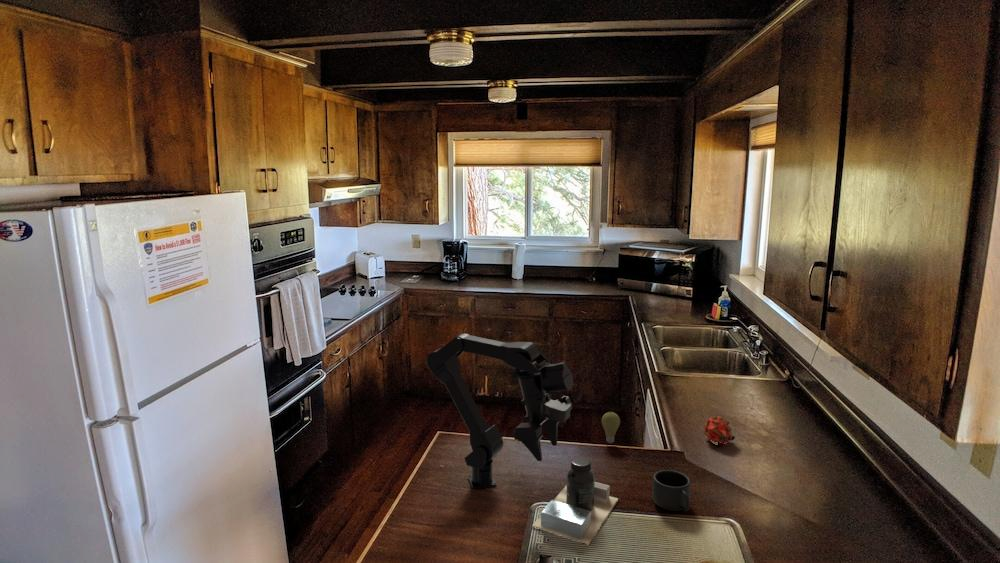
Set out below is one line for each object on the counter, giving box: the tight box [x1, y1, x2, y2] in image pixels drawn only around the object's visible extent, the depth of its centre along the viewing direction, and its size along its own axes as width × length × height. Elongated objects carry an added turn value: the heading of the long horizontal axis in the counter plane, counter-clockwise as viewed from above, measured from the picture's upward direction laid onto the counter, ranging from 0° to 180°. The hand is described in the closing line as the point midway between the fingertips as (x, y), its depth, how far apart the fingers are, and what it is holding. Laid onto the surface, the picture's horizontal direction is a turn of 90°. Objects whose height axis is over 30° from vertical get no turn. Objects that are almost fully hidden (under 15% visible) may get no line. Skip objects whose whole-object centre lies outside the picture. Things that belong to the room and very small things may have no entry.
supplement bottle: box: [566, 456, 596, 511], centre depth 140 cm, size 7×7×12 cm
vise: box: [531, 481, 619, 546], centre depth 139 cm, size 21×14×4 cm, turn 151°
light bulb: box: [601, 411, 621, 444], centre depth 176 cm, size 6×6×10 cm
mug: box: [651, 469, 692, 512], centre depth 141 cm, size 12×9×7 cm
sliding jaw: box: [540, 499, 591, 538], centre depth 133 cm, size 6×10×4 cm, turn 61°
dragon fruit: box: [703, 415, 736, 445], centre depth 177 cm, size 8×8×12 cm
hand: (547, 452), depth 143 cm, fingers open, 9 cm apart
